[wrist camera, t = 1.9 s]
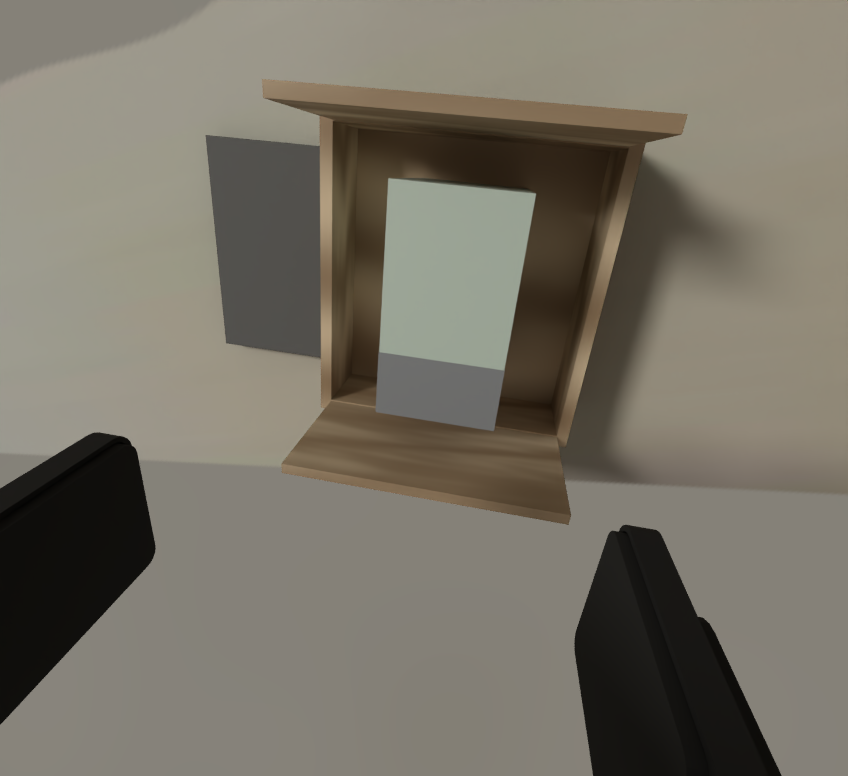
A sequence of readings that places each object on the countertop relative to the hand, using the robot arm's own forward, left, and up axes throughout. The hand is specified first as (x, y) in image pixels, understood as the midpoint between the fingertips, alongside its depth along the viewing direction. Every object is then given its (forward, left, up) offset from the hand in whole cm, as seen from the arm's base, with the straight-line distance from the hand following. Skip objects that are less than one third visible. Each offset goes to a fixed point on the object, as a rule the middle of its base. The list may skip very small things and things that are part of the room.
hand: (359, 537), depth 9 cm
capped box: (-1, 0, -20) cm, 20 cm away
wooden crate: (-1, 0, -21) cm, 21 cm away
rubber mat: (-1, -11, -21) cm, 23 cm away
